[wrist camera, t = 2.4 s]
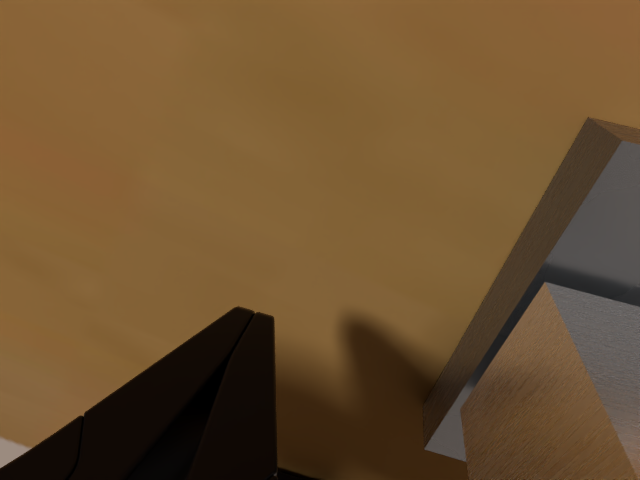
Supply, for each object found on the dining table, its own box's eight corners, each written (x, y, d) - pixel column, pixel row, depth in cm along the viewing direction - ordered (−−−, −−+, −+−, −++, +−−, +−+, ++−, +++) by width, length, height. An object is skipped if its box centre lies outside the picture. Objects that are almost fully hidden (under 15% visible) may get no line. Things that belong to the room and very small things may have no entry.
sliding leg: (575, 442, 10) (665, 684, 6) (460, 409, 10) (486, 625, 7) (699, 322, 7) (953, 608, 4) (544, 281, 8) (657, 520, 4)
